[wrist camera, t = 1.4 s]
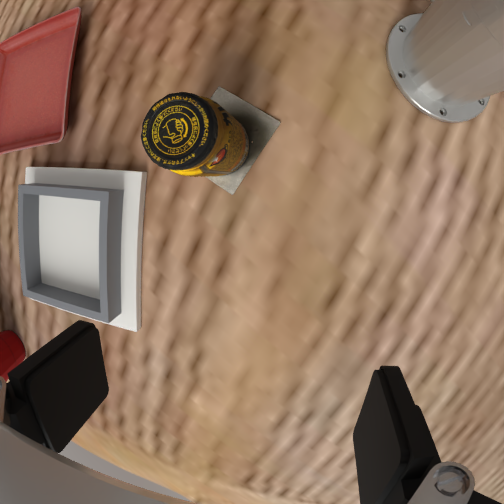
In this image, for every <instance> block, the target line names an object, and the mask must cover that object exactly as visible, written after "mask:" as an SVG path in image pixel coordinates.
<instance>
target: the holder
mask: <svg viewBox="0 0 504 504" xmlns="http://www.w3.org/2000/svg"><path fill="white" fill-rule="evenodd" d="M146 180H147V172H140V171H126V170H110V169H90V168H65V167H26V176H25V184H21V185H19V186H18V235H19V255H20V268H21V279H22V288H23V295H24V296H26V297H29V298H30V299H33V300H35V301H38V302H41V303H44V304H47V305H50V306H53V307H56V308H58V309H61V310H64V311H68V312H71V313H74V314H77V315H80V316H83V317H86V318H90V319H93V320H96V321H100V322H103V323H106V324H110V325H113V326H117V327H120V328H124V329H128V330H131V331H135V332H137V331H138V330H139V329H140V328H141V260H142V236H143V218H144V203H145V191H146Z"/></svg>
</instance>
